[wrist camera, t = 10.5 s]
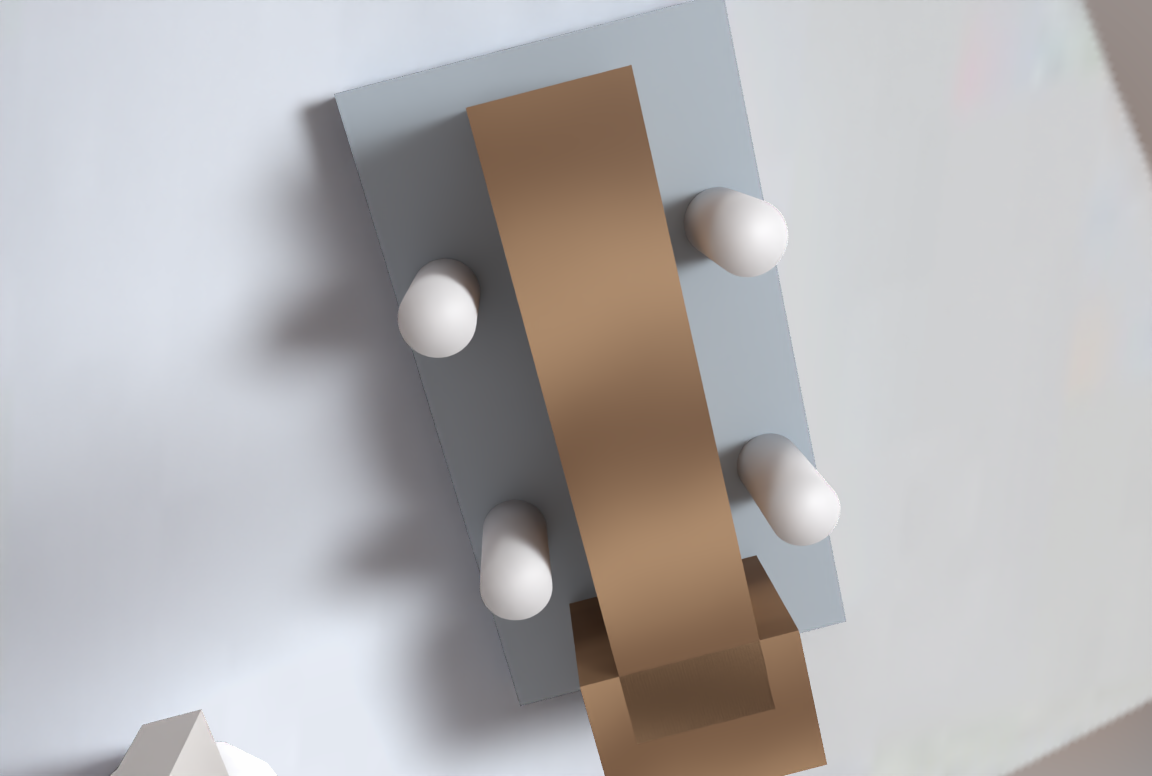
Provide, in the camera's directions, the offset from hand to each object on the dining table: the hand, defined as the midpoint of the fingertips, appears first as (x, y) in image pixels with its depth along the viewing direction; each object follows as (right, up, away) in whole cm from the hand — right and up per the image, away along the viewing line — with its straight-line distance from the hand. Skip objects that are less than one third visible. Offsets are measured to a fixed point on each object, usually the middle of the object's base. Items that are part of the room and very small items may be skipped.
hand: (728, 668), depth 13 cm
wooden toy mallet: (-1, +4, +15) cm, 15 cm away
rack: (-1, +4, +16) cm, 16 cm away
